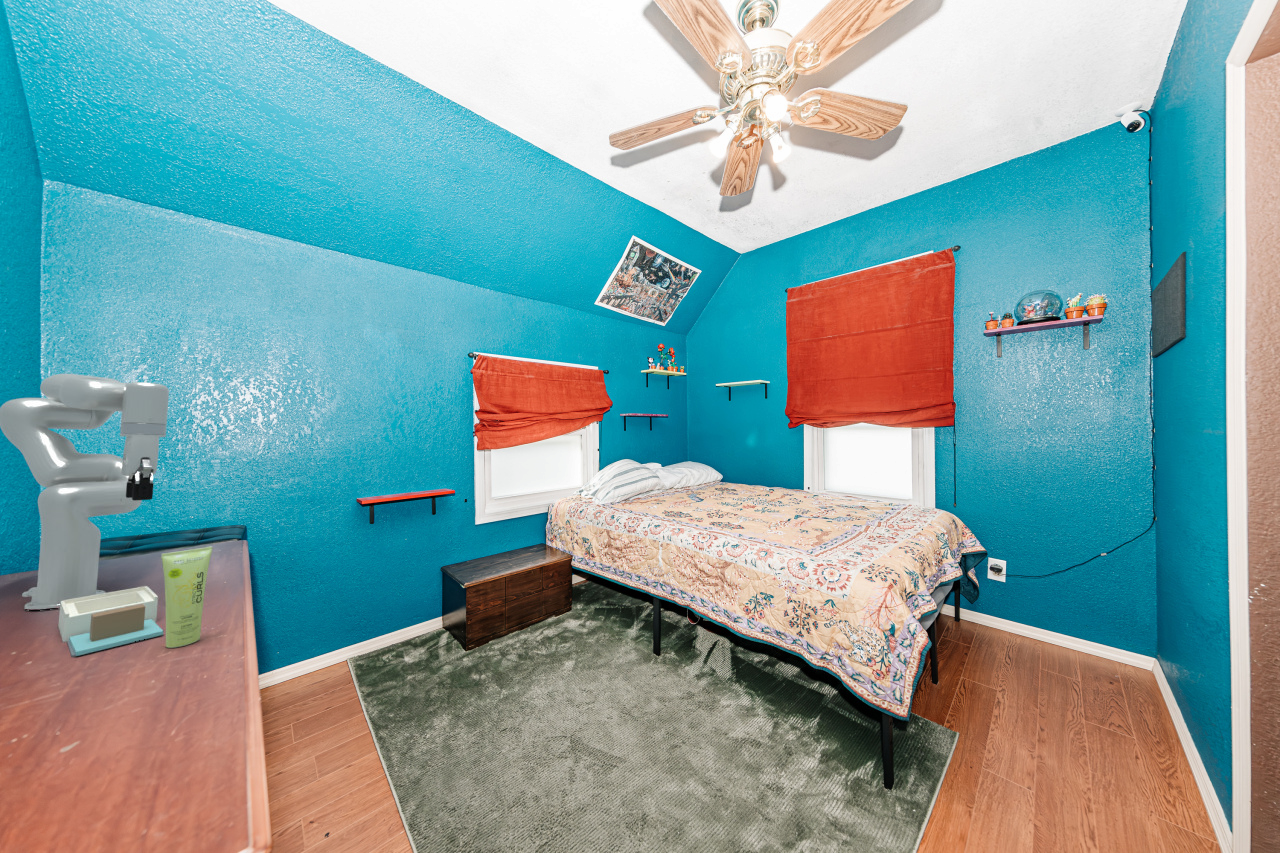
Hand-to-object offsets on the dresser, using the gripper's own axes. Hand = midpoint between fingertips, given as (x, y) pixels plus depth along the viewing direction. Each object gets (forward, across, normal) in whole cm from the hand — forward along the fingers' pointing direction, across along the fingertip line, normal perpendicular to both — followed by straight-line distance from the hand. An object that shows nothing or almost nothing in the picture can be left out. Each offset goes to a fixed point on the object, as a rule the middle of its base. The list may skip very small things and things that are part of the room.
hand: (138, 498), depth 106 cm
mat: (+28, +20, -4) cm, 35 cm away
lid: (+28, +20, -4) cm, 35 cm away
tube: (+28, +34, +3) cm, 45 cm away
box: (+28, +6, -4) cm, 29 cm away
